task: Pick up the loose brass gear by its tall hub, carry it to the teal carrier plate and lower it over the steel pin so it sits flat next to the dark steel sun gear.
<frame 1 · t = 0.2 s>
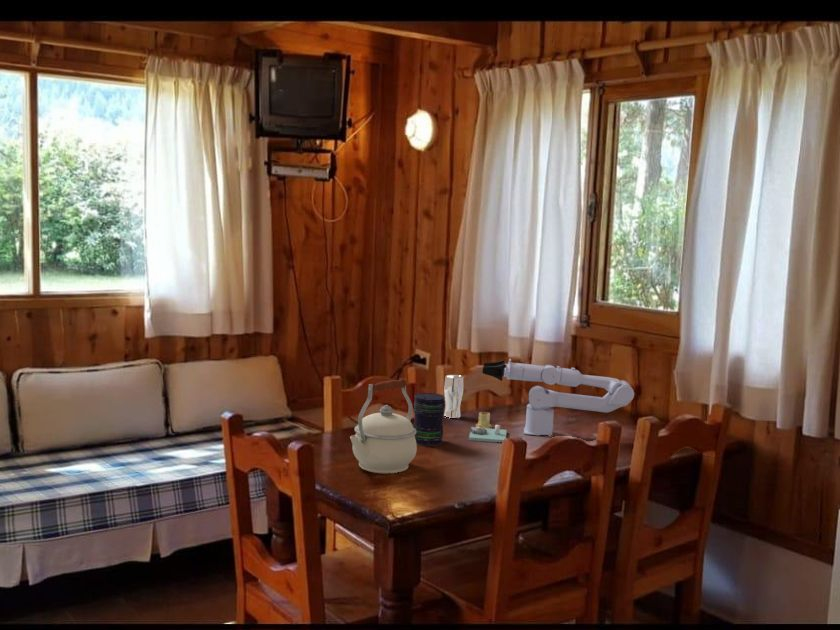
hand: (483, 368, 284), 21 cm above the table, tool horizontal, fingers open, 7 cm apart
beer glass: (452, 417, 301), on the table
kettle: (379, 468, 235), on the table
carrier plate: (488, 436, 276), on the table
storage jar: (427, 442, 265), on the table
planet gear: (483, 427, 288), on the table
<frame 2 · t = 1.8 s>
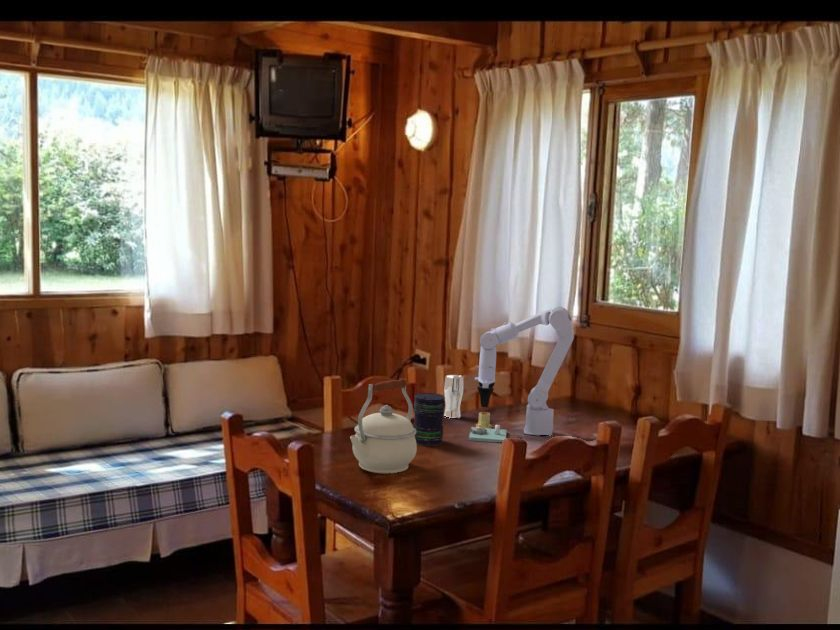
hand: (484, 404, 287), 8 cm above the table, tool pointing down, fingers open, 7 cm apart
nothing on the table moved.
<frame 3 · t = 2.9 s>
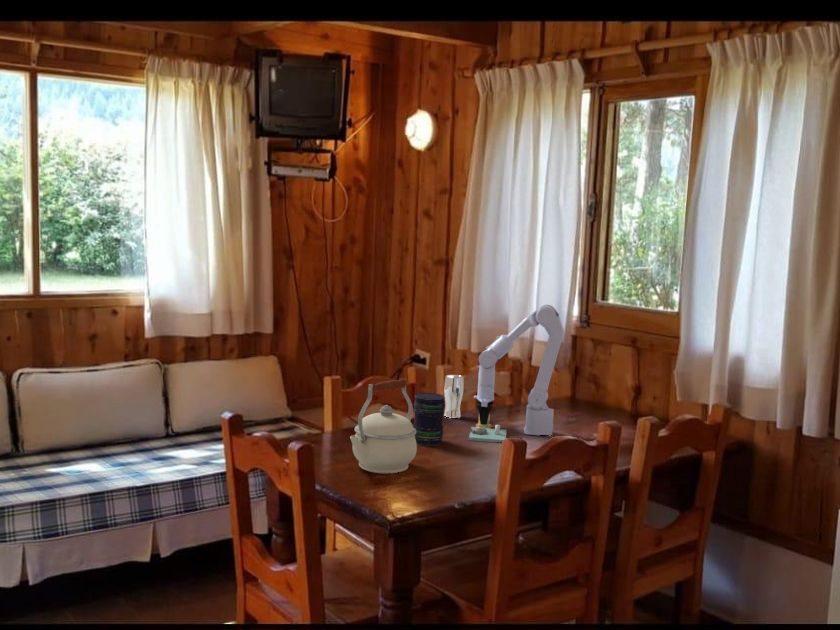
hand: (483, 422, 288), 2 cm above the table, tool pointing down, fingers closed on planet gear, 4 cm apart
planet gear: (483, 427, 288), on the table, touching gripper
everything else where it was.
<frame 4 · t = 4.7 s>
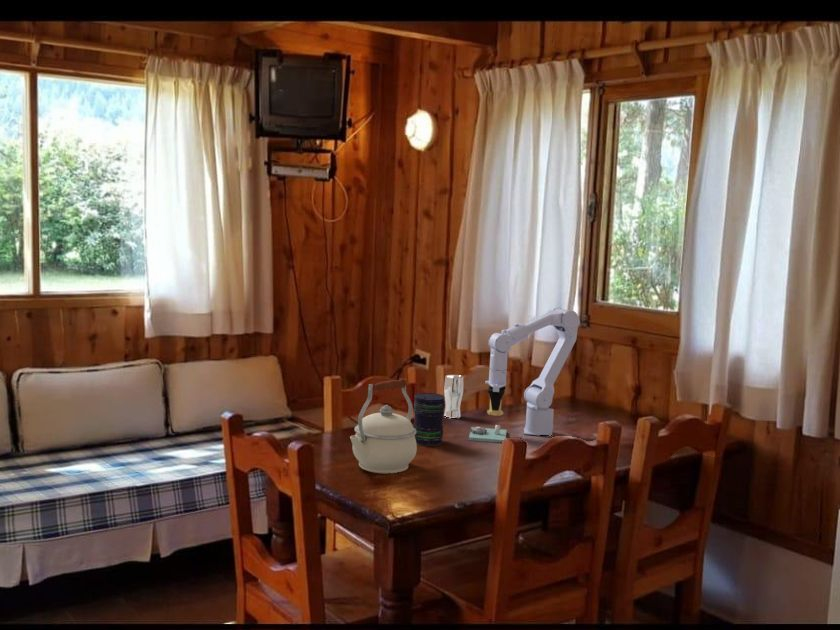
hand: (495, 409, 277), 9 cm above the table, tool pointing down, fingers closed on planet gear, 4 cm apart
planet gear: (494, 413, 278), point 7 cm above the table, touching gripper
everything else where it was.
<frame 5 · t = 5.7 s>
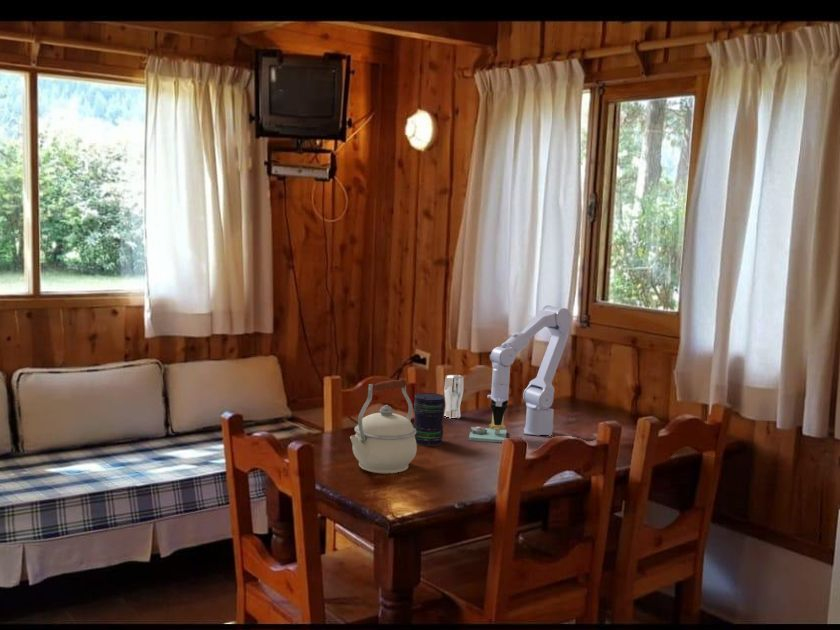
hand: (497, 423, 275), 5 cm above the table, tool pointing down, fingers closed on planet gear, 4 cm apart
planet gear: (497, 428, 275), point 3 cm above the table, touching gripper
everything else where it was.
when the fingers open (4 cm above the table, at t = 6.3 s): planet gear drops 1 cm, resting on carrier plate.
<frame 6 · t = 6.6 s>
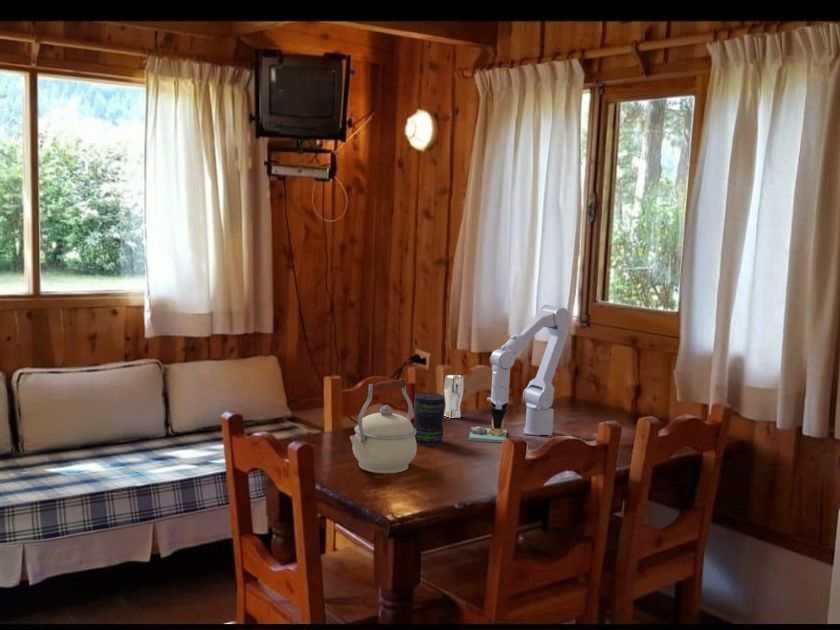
hand: (497, 425, 275), 4 cm above the table, tool pointing down, fingers open, 6 cm apart
planet gear: (496, 434, 276), point 1 cm above the table, touching carrier plate
everything else where it was.
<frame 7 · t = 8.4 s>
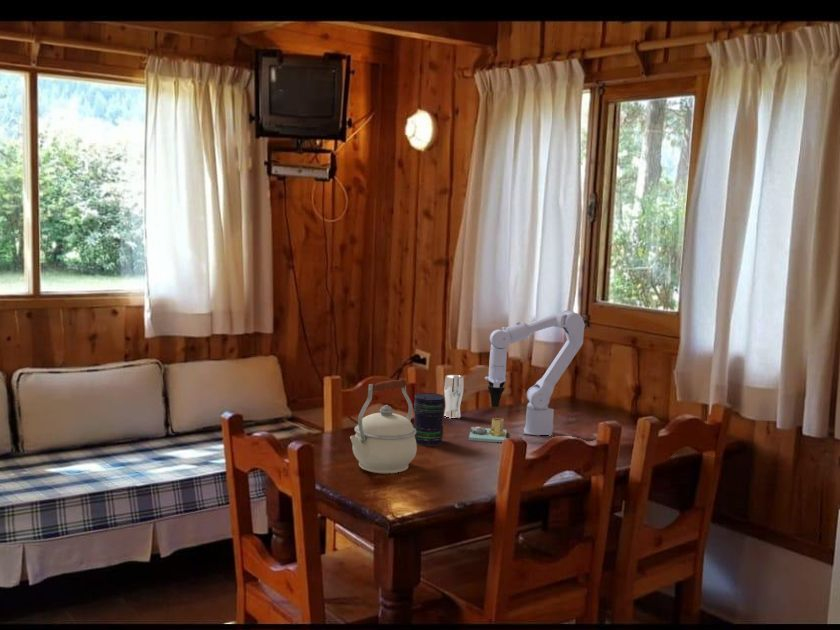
hand: (495, 404, 282), 9 cm above the table, tool pointing down, fingers open, 7 cm apart
nothing on the table moved.
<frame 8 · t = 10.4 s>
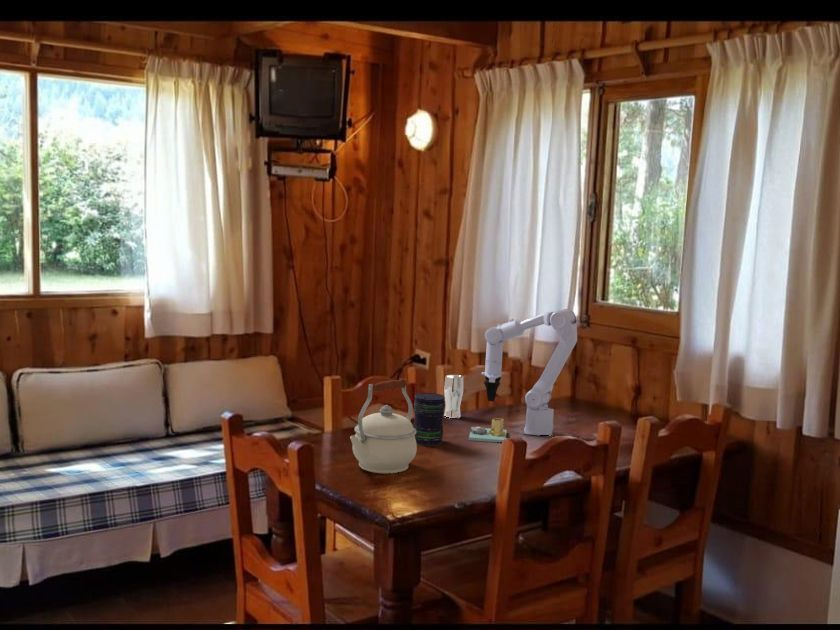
hand: (491, 398, 291), 9 cm above the table, tool pointing down, fingers open, 7 cm apart
nothing on the table moved.
at the end: planet gear 0.1 cm from the target spot on the carrier plate, point 1.0 cm above the carrier plate's base; planet gear tilted 0°; the gripper is holding nothing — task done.
